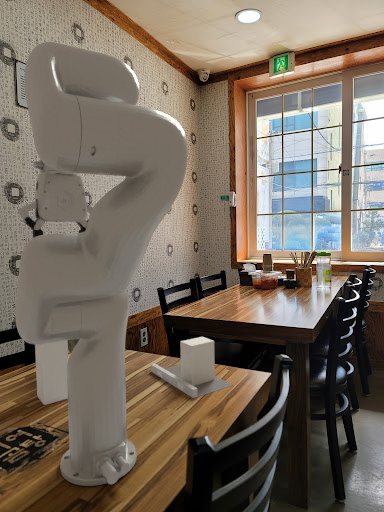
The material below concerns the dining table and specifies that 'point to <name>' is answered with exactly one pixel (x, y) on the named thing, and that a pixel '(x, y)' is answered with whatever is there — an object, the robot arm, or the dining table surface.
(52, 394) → the milk
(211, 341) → the carton
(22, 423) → the dining table surface
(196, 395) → the shelf board
